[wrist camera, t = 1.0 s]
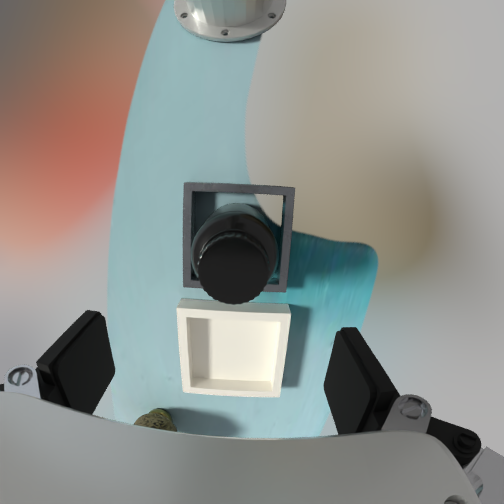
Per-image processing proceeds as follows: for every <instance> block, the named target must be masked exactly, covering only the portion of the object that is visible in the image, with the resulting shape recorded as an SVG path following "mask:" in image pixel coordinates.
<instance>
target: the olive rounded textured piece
mask: <svg viewBox="0 0 504 504" xmlns="http://www.w3.org/2000/svg"><path fill="white" fill-rule="evenodd" d="M133 425H138V426H143V427H149V428H154V429H160V430H166V431H173V432H177V429H176V427H175V425H174V424H173V423H172V418H171V415H170V414H169V413H168V412H166V411H165V410H162V409H153V410H151V411H150V412H149V414H145V415H142V416H141V417H139V418H138V419H137V420H136V422H135V423H134V424H133Z"/></svg>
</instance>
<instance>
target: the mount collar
mask: <svg viewBox="0 0 504 504" xmlns="http://www.w3.org/2000/svg"><path fill="white" fill-rule="evenodd" d="M195 191H209V192H235V193H255V194H272V195H283V210H282V224H281V237H280V249H279V262H278V273H277V278H271V280H270V281H269V282H268V283H267V285H266V286H265V287H264V290H263V292H286V288H287V278H288V267H289V257H290V246H291V234H292V222H293V221H292V220H293V208H294V195H295V188H293V187H282V186H268V185H251V184H231V183H200V182H185V183H184V198H183V287H189V288H203V287H202V286H201V285H200V280H199V279H198V277H197V275H196V274H194V269H193V266H192V261H191V248H192V243H193V240H194V222H195Z"/></svg>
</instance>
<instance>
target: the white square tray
mask: <svg viewBox="0 0 504 504" xmlns="http://www.w3.org/2000/svg"><path fill="white" fill-rule="evenodd" d="M290 319H291V312H290V308H289V305H288V304H277V303H250V302H247V303H242V304H236V305H232V304H225V303H221V302H219V301H212V300H197V299H183V298H181V300H180V302H179V304H178V306H177V324H178V339H179V353H180V364H181V375H182V385H183V392H187V393H197V394H208V395H222V396H241V397H280V391H281V384H282V378H283V371H284V364H285V357H286V350H287V342H288V335H289V327H290Z"/></svg>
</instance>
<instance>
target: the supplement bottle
mask: <svg viewBox="0 0 504 504" xmlns="http://www.w3.org/2000/svg"><path fill="white" fill-rule="evenodd" d="M278 259H279V251H278V245H277V242H276V239H275V236H274V234H273V232H272V231H271V229H270V227H269V225H268V223H267V222H266V220H265V218H264V217H263V216H262V215H261V213H260V212H259V211H257V210H256V209H254V208H253V207H251V206H249V205H246V204H241V203H232V204H227V205H224V206H222V207H220V208H218V209H217V210H215V211H214V212H213V213H212V214H211V215H210V216H209V217H208V219H207V220H206V221H205V222H204V224H203V225H202V226H201V227H200V229H199V230H198V232H197V234H196V236H195V238H194V240H193V243H192V248H191V261H192V266H193V269H194V271H195V273H196V275H197V277H198V279H199V280H200V285H201V286H202V287H203V289H204V291H206V292H207V293H208V295H209V296H211V297H212V298H213V299H215V300H218V301H219V302H221V303H225V304H232V305H236V304H242V303H247V302H249V301H250V300H253V299H254V298H255V297H257V296H259V294H260V292H262V291H263V290H264V287H265V286H266V285H267V283H268V282H269V281H270V280H271V278H272V277H273V275H274V273H275V271H276V268H277V265H278Z"/></svg>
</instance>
